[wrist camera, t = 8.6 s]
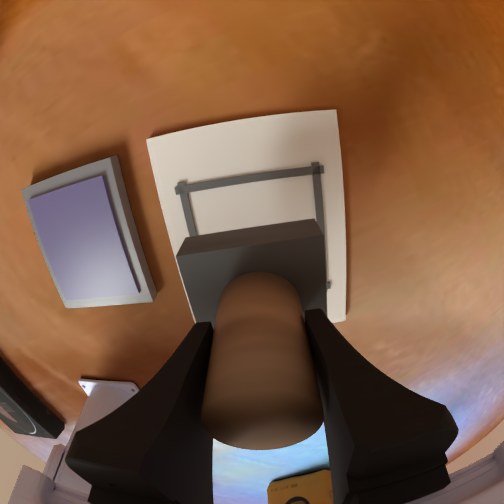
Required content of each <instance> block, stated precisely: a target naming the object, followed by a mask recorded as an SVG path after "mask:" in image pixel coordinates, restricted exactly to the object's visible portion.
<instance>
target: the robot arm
mask: <svg viewBox="0 0 504 504" xmlns="http://www.w3.org/2000/svg"><path fill="white" fill-rule="evenodd" d="M304 313H305V324H306V329H307V334H308V338H309V342H310V347H311V352H312V356H313V361H314V366H315V371H316V375H317V380H318V385H319V390H320V395H321V400H322V405H323V411H324V426H325V433H326V440H327V447H328V455H329V462H330V471H331V480H332V491H333V502H334V504H504V441H503V442H502V443H501V444H500V445H499V446H498V447H497V448H496V449H495V450H494V452H493V453H491V454H489V455H488V456H486V457H484V458H482V459H480V460H478V461H476V462H474V463H473V464H471V465H469V466H467V467H465V468H462V469H460V470H458V471H456V472H454V473H452V474H449V475H448V472H447V469H446V466H445V464H446V463H447V462H448V460H447V457H446V454H445V452H446V451H447V449H448V448H449V447H450V446H451V444H452V443H453V442H454V440H455V438H456V437H457V435H458V427H457V425H456V423H455V421H454V419H453V417H452V415H451V414H450V412H449V411H448V409H447V408H446V406H445V405H443V404H440V403H438V402H435V401H433V400H430V399H428V398H425V397H423V396H421V395H419V394H417V393H415V392H413V391H411V390H409V389H407V388H406V387H404V386H402V385H401V384H399V383H398V382H396V381H394V380H393V379H391V378H390V377H388V376H387V375H385V374H384V373H383V372H381V371H380V370H379V369H377V368H376V367H375V366H374V365H372V364H371V363H370V362H369V361H367V360H366V359H365V358H364V357H363V356H362V355H361V354H360V353H359V352H358V351H357V350H356V349H355V348H354V347H353V346H352V345H351V344H350V343H349V342H348V341H347V340H346V339H345V338H344V337H343V336H342V335H341V333H340V332H339V331H338V330H337V329H336V328H335V326H334V325H333V324H332V323H331V321H330V320H329V319H328V317H327V316H326V314H325V313H324V311H323V310H322V309H320V308H317V309H310V310H304ZM213 333H214V330H213V327H212V323H211V321H209V322H197V323H196V324H195V325H194V326H193V327H192V329H191V330H190V332H189V333H188V334H187V336H186V337H185V339H184V340H183V341H182V343H181V344H180V345H179V347H178V348H177V349H176V351H175V352H174V353H173V355H172V356H171V357H170V358H169V360H168V361H167V362H166V363H165V364H164V366H163V367H162V368H161V369H160V370H159V371H158V373H157V374H156V375H155V376H154V377H153V378H152V379H151V380H150V381H149V382H148V383H147V384H146V385H145V386H144V387H143V388H142V389H141V390H140V391H139V389H138V388H137V386H136V385H135V384H134V383H132V382H118V381H102V380H90V379H79V381H78V382H79V384H80V385H81V387H82V388H83V390H84V391H85V392H86V394H87V395H88V399H87V401H86V403H85V405H84V407H83V410H82V412H81V414H80V416H79V419H78V421H77V423H76V426H75V428H74V430H73V433H72V435H71V437H70V440H69V442H68V444H67V445H66V447H65V446H64V445H62V444H59V445H54V447H53V449H52V451H51V454H50V456H49V458H48V461H47V463H46V466H45V468H44V471H43V473H41V472H39V471H36V470H34V469H32V468H30V467H27V466H25V465H23V467H22V469H21V472H20V474H19V476H18V479H17V481H16V484H15V487H14V489H13V492H12V495H11V497H10V500H9V503H8V504H213V482H212V451H213V437H211V436H210V435H209V434H208V433H207V432H206V431H205V430H204V429H203V427H202V425H201V420H200V419H201V411H202V404H203V397H204V390H205V384H206V377H207V371H208V364H209V358H210V352H211V345H212V339H213Z"/></svg>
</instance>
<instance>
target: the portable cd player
mask: <svg viewBox="0 0 504 504" xmlns="http://www.w3.org/2000/svg"><path fill="white" fill-rule="evenodd" d="M0 419H1V420H2V421H3V422H4V423H5V424H6V425H7V426H8V427H9V428H10V429H11V430H13V431H14V432H15V433H18V434H24V435H30V436H37V437H44V438H53V439H57V437H58V436H59V435H60V434H61V432H62V431H63V430H64V423H63V422H62V421H61V420H60V419H59V418H57V417H56V416H55V415H54V414H53V413H52V412H51V411H50V410H49V409H48V408H47V407H46V406H45V405H43V404H42V403H41V402H40V401H39V400H38V399H37V398H36V397H35V396H34V395H33V394H32V393H31V392H30V390H29V389H28V388H27V387H26V386H25V385H24V384H23V383H22V382H21V381H20V380H19V379H18V378H17V376H16V375H15V374H14V373H13V372H12V371H11V370H10V368H9V367H8V366H7V365H6V364H5V363H4V361H3V360H2V359H1V358H0Z"/></svg>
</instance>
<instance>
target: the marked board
mask: <svg viewBox="0 0 504 504" xmlns="http://www.w3.org/2000/svg"><path fill="white" fill-rule="evenodd" d="M146 141H147V146H148V151H149V155H150V160H151V165H152V169H153V174H154V178H155V182H156V187H157V191H158V195H159V199H160V203H161V207H162V211H163V215H164V219H165V223H166V227H167V231H168V234H169V238H170V242H171V246H172V249H173V253H174V256H175V260H176V263H177V259H176V255H177V253H178V251H179V249H180V247H181V245H182V243H183V241H184V239H185V237H191V236H197V235H204V234H210V233H216V232H223V231H229V230H236V229H243V228H249V227H256V226H263V225H270V224H277V223H284V222H291V221H298V220H305V219H313V218H315V220H316V222H317V224H318V225H319V227H320V229H321V231H322V232H323V234H324V245H325V263H326V285H327V317H328V319H329V320H330V321H331V323H334V322H340V321H345V313H346V228H345V204H344V187H343V173H342V160H341V149H340V139H339V130H338V121H337V113H336V109H335V110H319V111H306V112H295V113H286V114H277V115H269V116H261V117H254V118H247V119H240V120H234V121H228V122H222V123H217V124H212V125H206V126H201V127H196V128H192V129H187V130H182V131H178V132H174V133H169V134H165V135H161V136H157V137H153V138H149V139H146ZM177 267H178V270H179V274H180V277H181V280H182V284H183V287H184V290H185V293H186V297H187V300H188V303H189V306H190V309H191V313H192V316H193V319H194V322H195V324H196V320H195V317H194V314H193V311H192V308H191V305H190V302H189V299H188V295H187V292H186V289H185V286H184V283H183V279H182V276H181V273H180V269H179V266H178V263H177Z"/></svg>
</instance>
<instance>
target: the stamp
mask: <svg viewBox="0 0 504 504" xmlns="http://www.w3.org/2000/svg"><path fill="white" fill-rule="evenodd" d="M176 259H177V263H178V266H179V269H180V273H181V276H182V279H183V283H184V286H185V289H186V292H187V295H188V299H189V302H190V305H191V308H192V311H193V314H194V317H195V320H196V323H197V322H209V321H211V323H212V327H213V330H214V333H213V339H212V345H211V352H210V358H209V364H208V371H207V377H206V384H205V390H204V397H203V404H202V411H201V419H200V420H201V425H202V427H203V429H204V430H205V431H206V432H207V433H208V434H209V435H210V436H211V437H213V438H214V439H216V440H217V441H219V442H222V443H224V444H227V445H229V446H233V447H237V448H242V449H250V450H270V449H278V448H283V447H287V446H291V445H294V444H297V443H299V442H301V441H303V440H305V439H307V438H309V437H310V436H312V435H313V434H314V433H316V432H317V431H318V429H319V428H320V427H321V425H322V423H323V421H324V411H323V405H322V400H321V395H320V390H319V385H318V380H317V375H316V371H315V366H314V361H313V356H312V352H311V347H310V342H309V338H308V334H307V329H306V324H305V313H304V310H310V309H317V308H320V309H322V310H323V311H324V313H325V314H326V316H327V285H326V263H325V245H324V234H323V232H322V231H321V229H320V227H319V225H318V224H317V222H316V220H315V218H313V219H305V220H298V221H291V222H284V223H277V224H270V225H263V226H256V227H249V228H243V229H236V230H229V231H223V232H216V233H210V234H204V235H197V236H191V237H185V239H184V241H183V243H182V245H181V247H180V249H179V251H178V253H177V255H176Z"/></svg>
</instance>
